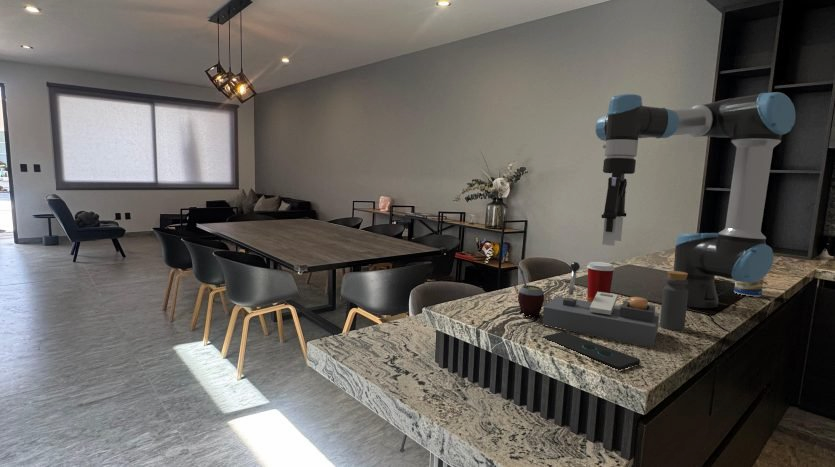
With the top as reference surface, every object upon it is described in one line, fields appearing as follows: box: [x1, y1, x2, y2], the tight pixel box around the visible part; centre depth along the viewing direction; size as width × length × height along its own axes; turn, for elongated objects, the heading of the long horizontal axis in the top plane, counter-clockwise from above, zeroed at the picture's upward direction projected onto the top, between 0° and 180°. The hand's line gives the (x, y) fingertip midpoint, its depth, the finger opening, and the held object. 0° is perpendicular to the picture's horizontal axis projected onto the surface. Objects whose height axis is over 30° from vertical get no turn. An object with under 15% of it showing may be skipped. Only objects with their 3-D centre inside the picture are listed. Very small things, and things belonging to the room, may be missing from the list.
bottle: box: [659, 270, 688, 331], centre depth 123 cm, size 6×6×15 cm
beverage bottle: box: [733, 242, 767, 298], centre depth 165 cm, size 8×8×20 cm
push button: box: [629, 296, 649, 310], centre depth 114 cm, size 4×4×2 cm
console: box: [542, 296, 660, 349], centre depth 119 cm, size 14×26×8 cm, turn 59°
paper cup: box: [586, 261, 615, 302], centre depth 137 cm, size 8×8×14 cm
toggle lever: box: [568, 261, 581, 296], centre depth 124 cm, size 2×2×9 cm
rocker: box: [590, 292, 618, 315], centre depth 119 cm, size 10×5×1 cm, turn 149°
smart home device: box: [542, 331, 641, 370], centre depth 103 cm, size 8×2×20 cm
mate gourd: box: [513, 262, 545, 318], centre depth 129 cm, size 8×8×15 cm
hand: (611, 242), depth 120 cm, fingers open, 11 cm apart
